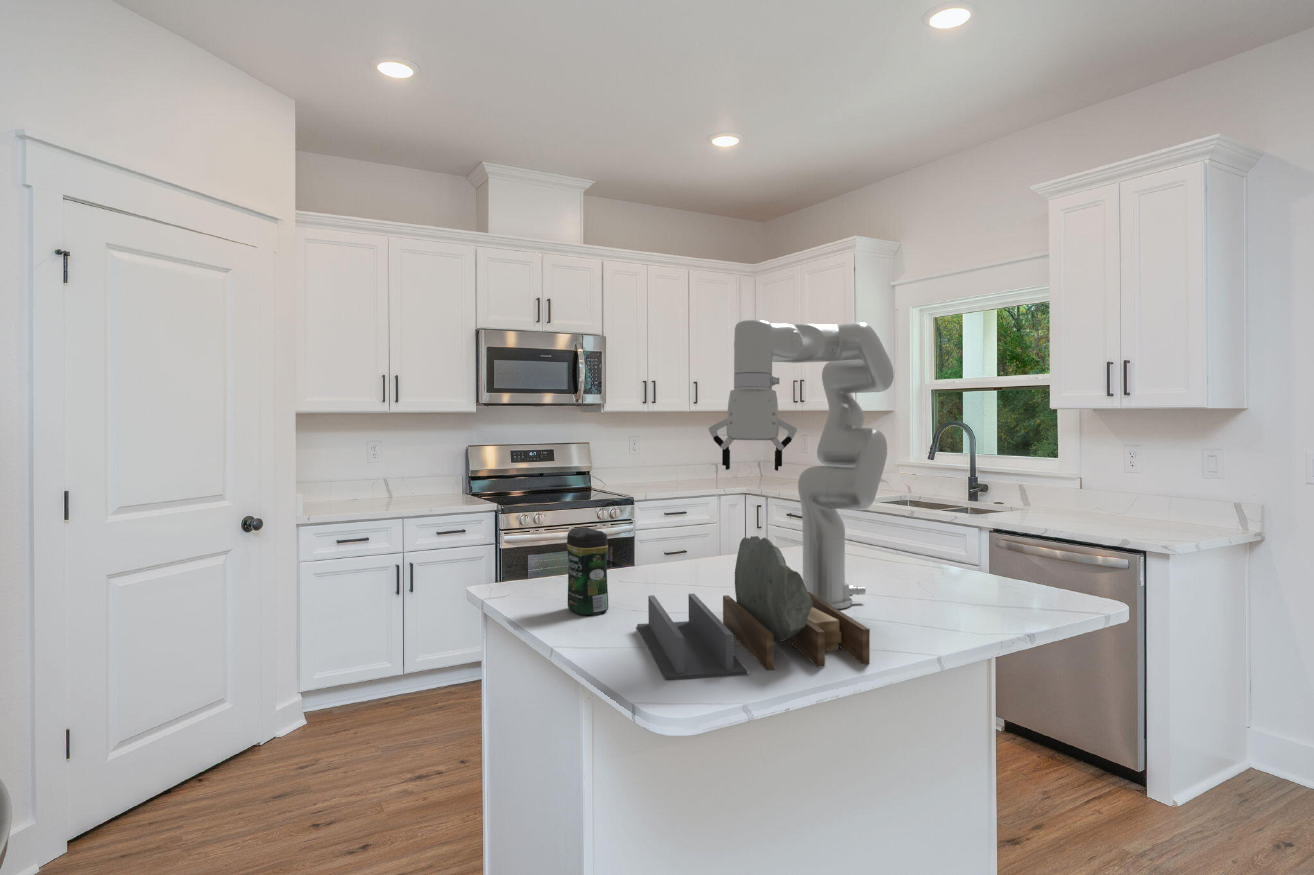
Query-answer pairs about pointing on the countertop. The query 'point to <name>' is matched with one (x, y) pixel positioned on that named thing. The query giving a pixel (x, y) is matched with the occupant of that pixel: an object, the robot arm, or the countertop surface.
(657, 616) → the slab stand
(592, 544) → the coffee jar
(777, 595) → the rock
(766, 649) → the walnut rack
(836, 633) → the offcut
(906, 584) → the countertop surface
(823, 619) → the offcut
